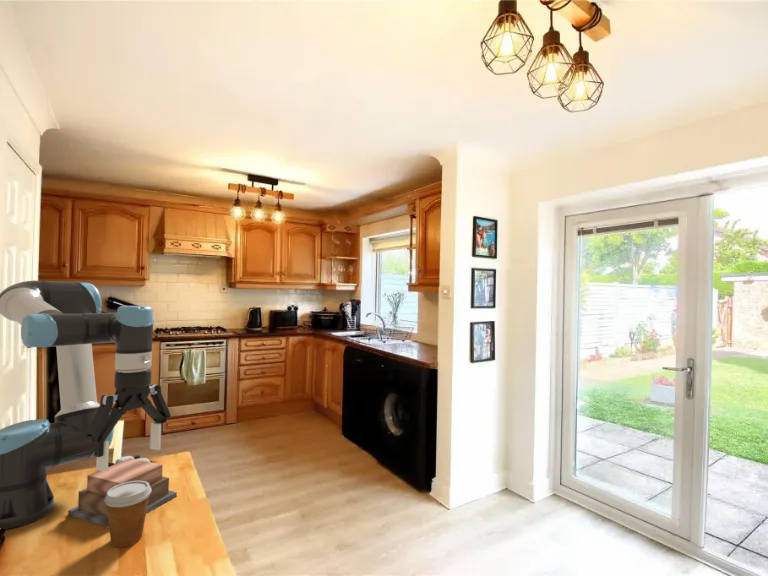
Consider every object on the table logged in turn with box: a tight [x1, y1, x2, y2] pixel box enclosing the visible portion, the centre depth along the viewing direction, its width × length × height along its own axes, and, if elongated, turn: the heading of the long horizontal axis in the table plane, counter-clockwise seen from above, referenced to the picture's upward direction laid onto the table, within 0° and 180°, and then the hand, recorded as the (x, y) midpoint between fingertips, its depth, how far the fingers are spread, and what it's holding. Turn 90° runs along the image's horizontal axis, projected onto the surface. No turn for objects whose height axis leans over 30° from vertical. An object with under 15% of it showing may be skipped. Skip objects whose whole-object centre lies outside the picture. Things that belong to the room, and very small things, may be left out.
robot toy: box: [108, 454, 158, 467], centre depth 131 cm, size 12×4×15 cm
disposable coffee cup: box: [104, 481, 152, 548], centre depth 96 cm, size 10×10×12 cm
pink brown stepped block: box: [67, 457, 178, 528], centre depth 111 cm, size 18×18×10 cm
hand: (130, 459), depth 96 cm, fingers open, 13 cm apart
